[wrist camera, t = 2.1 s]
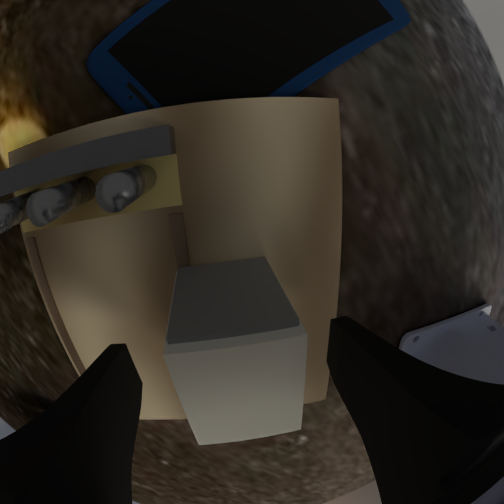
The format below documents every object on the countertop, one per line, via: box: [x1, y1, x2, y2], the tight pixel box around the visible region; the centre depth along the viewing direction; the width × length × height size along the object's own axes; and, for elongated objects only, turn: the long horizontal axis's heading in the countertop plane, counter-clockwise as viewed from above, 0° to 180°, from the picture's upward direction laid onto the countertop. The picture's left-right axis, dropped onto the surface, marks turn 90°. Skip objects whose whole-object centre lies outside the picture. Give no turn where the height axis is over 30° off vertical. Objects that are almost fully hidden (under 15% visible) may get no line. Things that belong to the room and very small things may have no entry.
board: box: [8, 97, 342, 419], centre depth 12 cm, size 14×16×1 cm
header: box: [0, 124, 176, 234], centre depth 8 cm, size 8×2×4 cm, turn 95°
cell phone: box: [87, 0, 411, 114], centre depth 9 cm, size 7×14×1 cm, turn 130°
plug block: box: [163, 257, 308, 445], centre depth 10 cm, size 4×5×5 cm
